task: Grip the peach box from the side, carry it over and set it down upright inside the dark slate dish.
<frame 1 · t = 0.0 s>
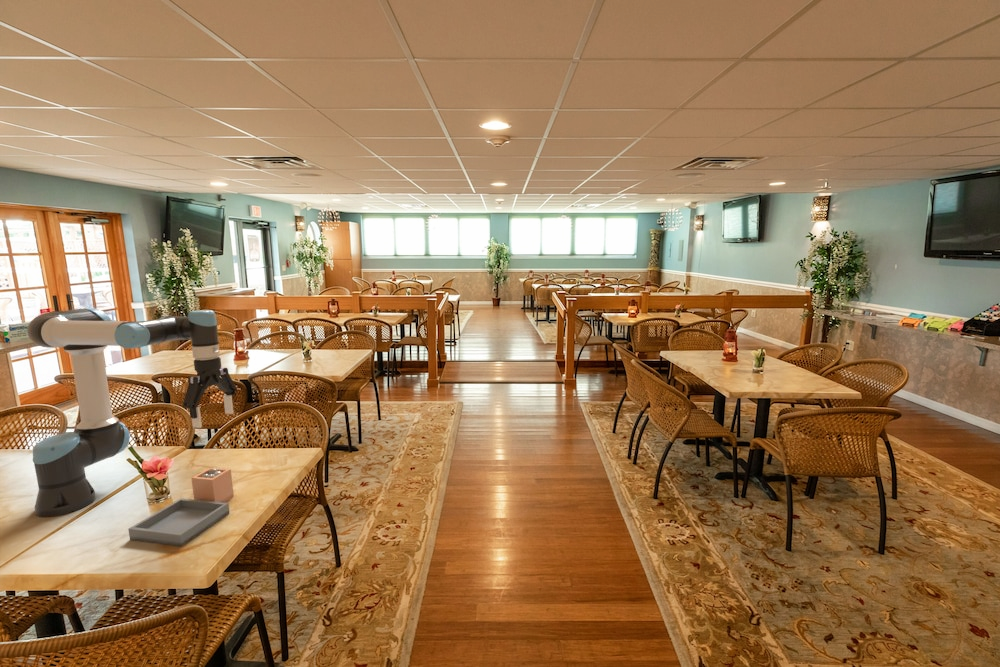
hand: (214, 420, 158), 28 cm above the table, tool pointing down, fingers open, 13 cm apart
slate dish: (182, 525, 146), on the table
peach box: (214, 501, 161), on the table
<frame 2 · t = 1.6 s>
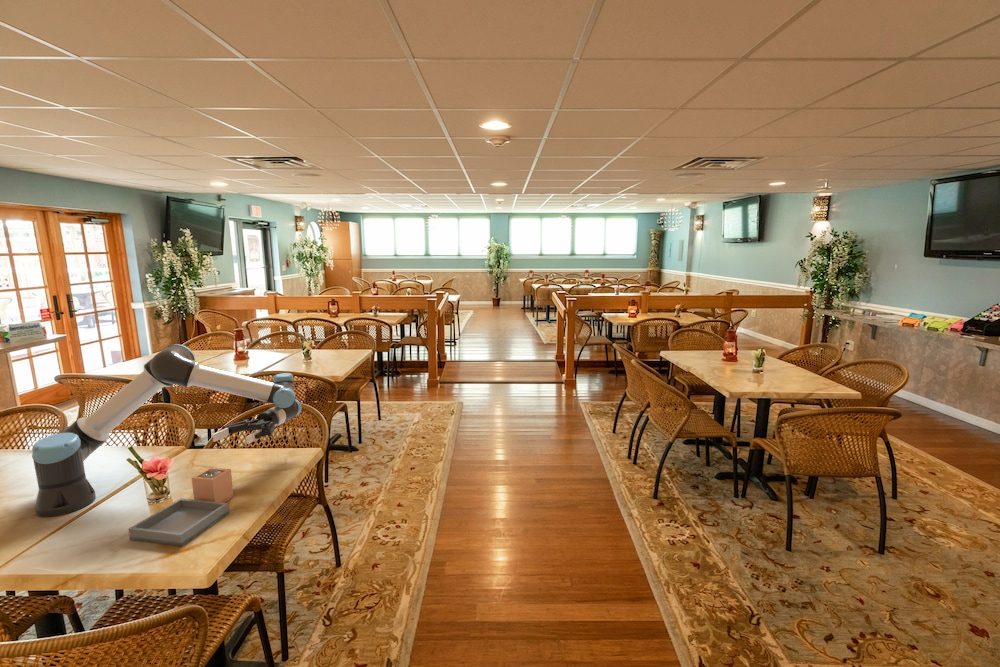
hand: (230, 439, 167), 18 cm above the table, tool horizontal, fingers open, 13 cm apart
nothing on the table moved.
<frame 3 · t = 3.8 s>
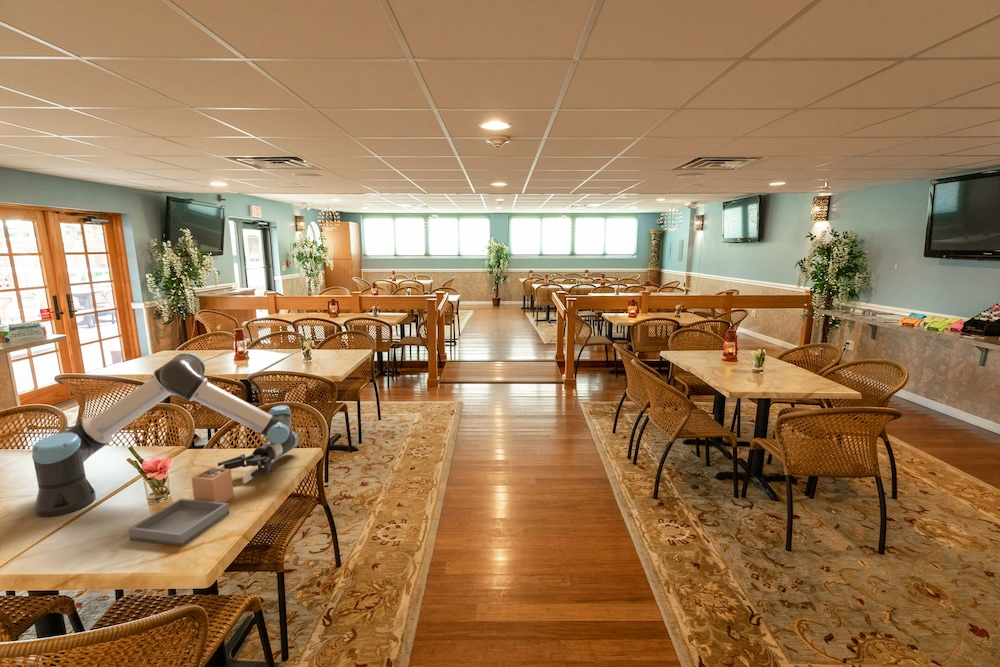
hand: (226, 478, 165), 6 cm above the table, tool horizontal, fingers open, 13 cm apart
nothing on the table moved.
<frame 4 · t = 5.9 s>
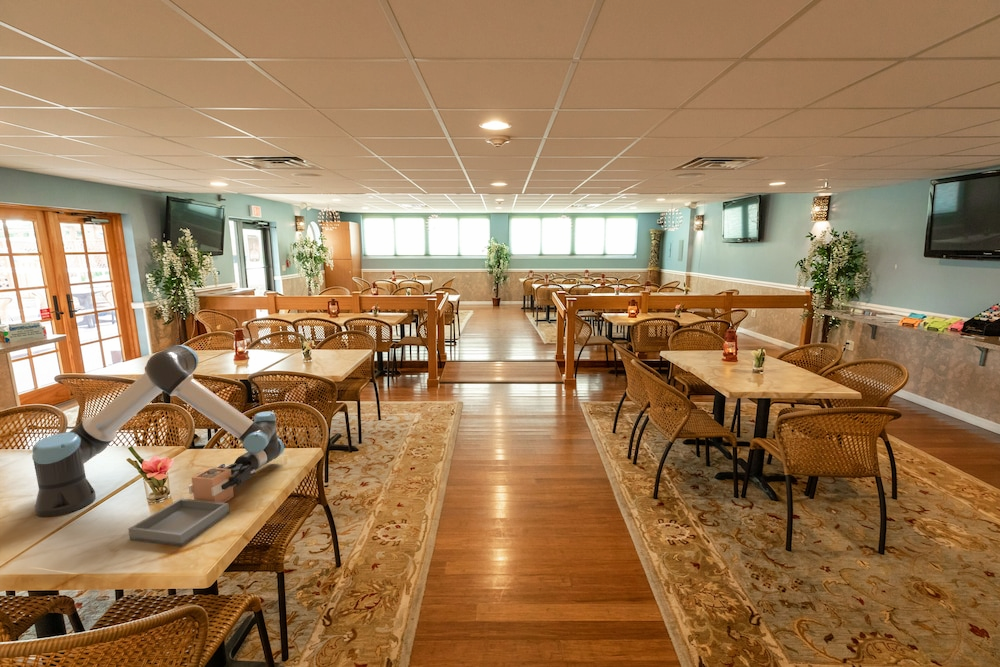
hand: (201, 491, 155), 6 cm above the table, tool horizontal, fingers closed on peach box, 8 cm apart
peach box: (214, 501, 161), on the table, touching gripper
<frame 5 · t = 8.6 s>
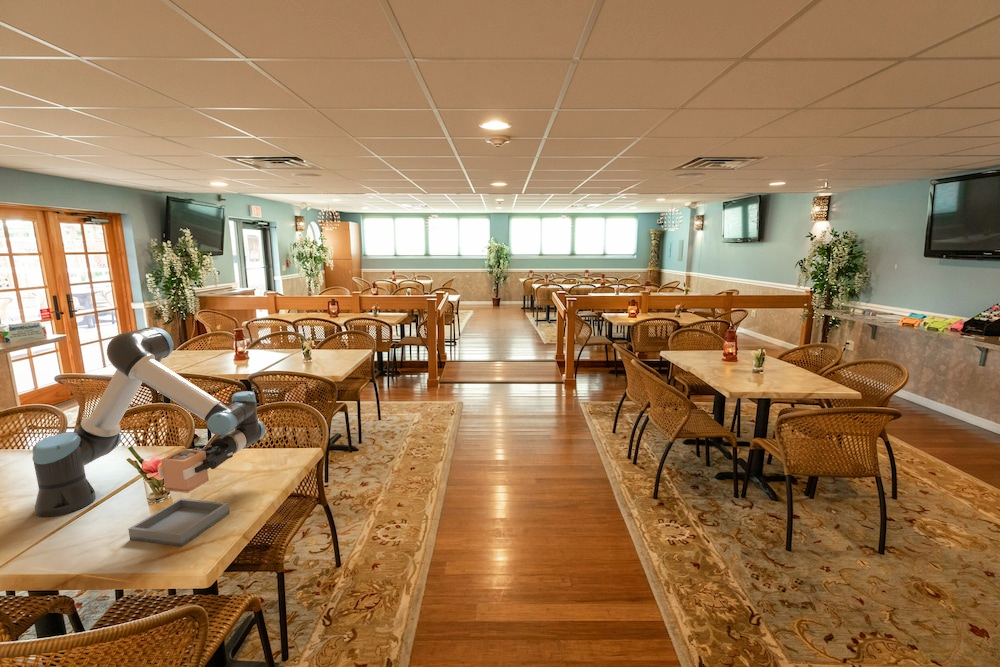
hand: (171, 474, 141), 18 cm above the table, tool horizontal, fingers closed on peach box, 8 cm apart
peach box: (187, 485, 147), point 12 cm above the table, touching gripper
when the fingers open (8 cm above the table, at t = 11.1 s): peach box drops 1 cm, resting on slate dish.
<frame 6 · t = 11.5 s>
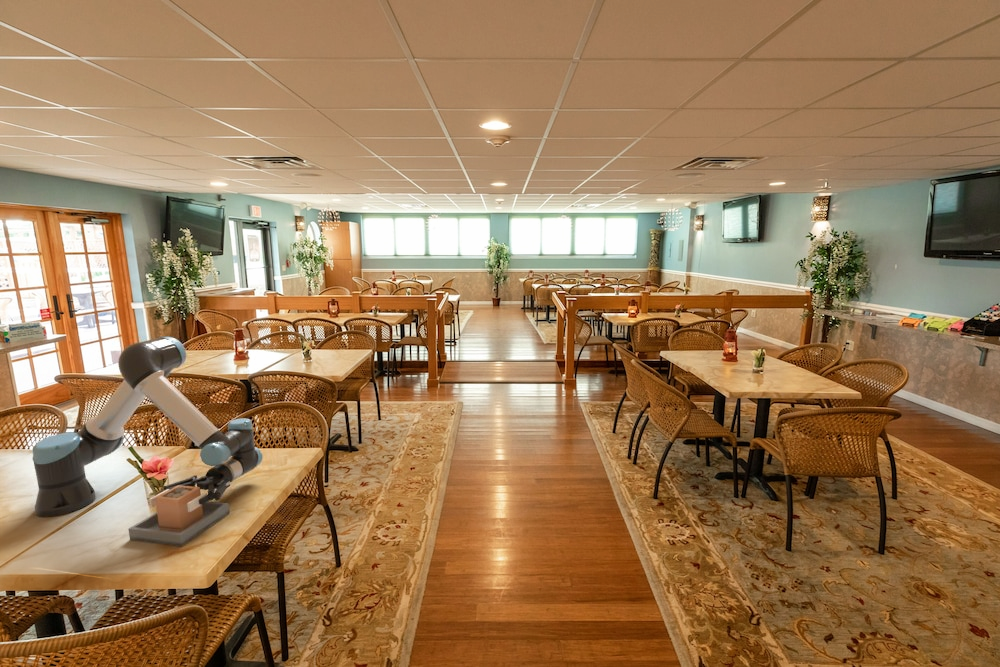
hand: (169, 505, 141), 8 cm above the table, tool horizontal, fingers open, 13 cm apart
peach box: (181, 522, 146), point 1 cm above the table, touching slate dish
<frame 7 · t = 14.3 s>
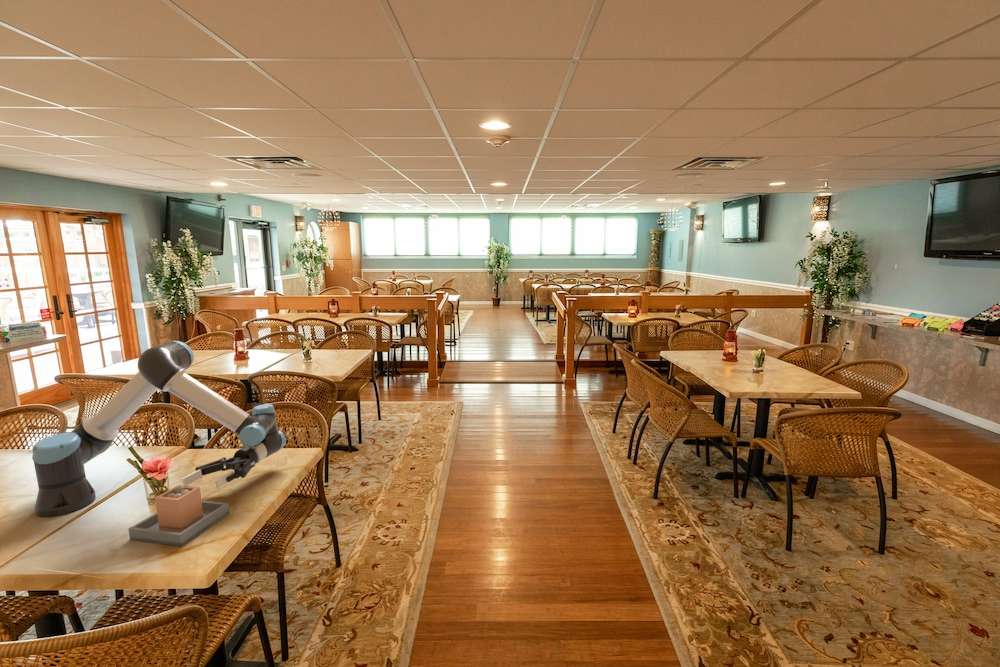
hand: (199, 483, 154), 9 cm above the table, tool horizontal, fingers open, 13 cm apart
nothing on the table moved.
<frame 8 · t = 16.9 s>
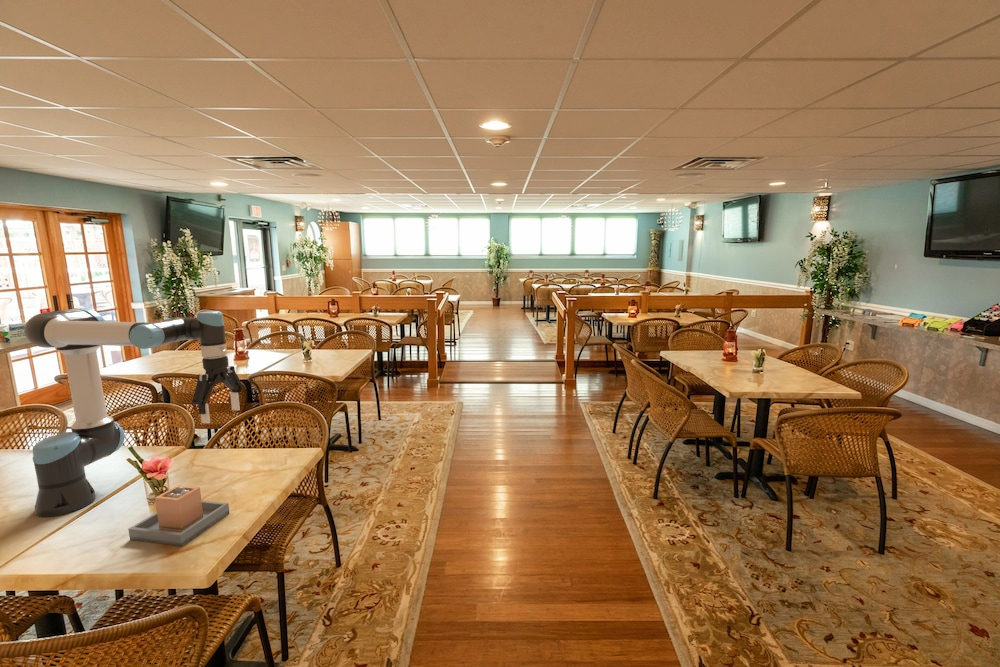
hand: (221, 416, 166), 27 cm above the table, tool pointing down, fingers open, 13 cm apart
nothing on the table moved.
at the end: peach box inside the target area on the slate dish (0.0 cm from its centre), point 1.0 cm above the slate dish's base; peach box tilted 0°; the gripper is holding nothing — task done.
